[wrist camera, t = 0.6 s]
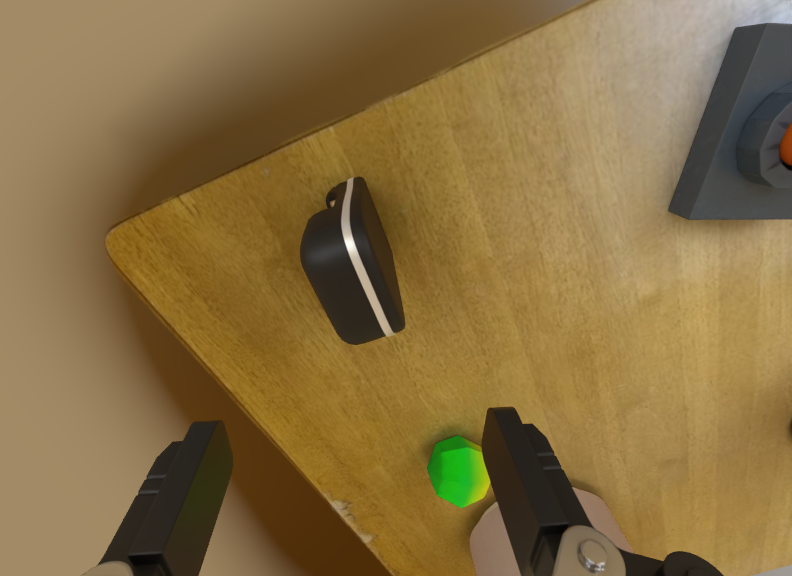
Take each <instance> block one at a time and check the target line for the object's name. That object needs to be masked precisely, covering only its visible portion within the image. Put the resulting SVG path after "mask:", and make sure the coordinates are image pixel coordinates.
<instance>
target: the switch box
mask: <svg viewBox="0 0 792 576" xmlns="http://www.w3.org/2000/svg"><path fill="white" fill-rule="evenodd" d="M791 123H792V24H779V23H764V24H757V25H750V26H744V27H737V28H736V29H735V32H734V34H733V37H732V40H731V42H730V45H729V48H728V50H727V53H726V56H725V59H724V61H723V64H722V67H721V69H720V72H719V75H718V77H717V80H716V83H715V85H714V88H713V91H712V94H711V96H710V99H709V102H708V104H707V107H706V110H705V112H704V115H703V118H702V120H701V123H700V126H699V129H698V131H697V134H696V137H695V139H694V142H693V145H692V147H691V150H690V153H689V156H688V158H687V161H686V164H685V166H684V169H683V172H682V174H681V177H680V180H679V182H678V185H677V188H676V191H675V193H674V196H673V199H672V201H671V204H670V207H669V209H668V211H669V212H671V213H674V214H676V215H679V216H681V217H683V218H686V219H688V220H753V219H792V165H788V164H786V163H785V162H783V161H782V159H781V158H780V155H779V145H780V143H781V141H782V138H783V136H784V134H785V132H786V130H787V128H788V126H789V125H790V124H791Z"/></svg>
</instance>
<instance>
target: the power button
mask: <svg viewBox="0 0 792 576" xmlns="http://www.w3.org/2000/svg"><path fill="white" fill-rule="evenodd" d="M779 155H780V158H781V159H782V161H783V162H785V163H786V164H788V165H792V123H791V124H790V125H789V126H788V128H787V130H786V132H785V134H784V136H783V138H782V141H781V143H780V145H779Z"/></svg>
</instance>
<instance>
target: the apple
mask: <svg viewBox="0 0 792 576" xmlns="http://www.w3.org/2000/svg"><path fill="white" fill-rule="evenodd" d="M427 470H428V473H429V476H430V479H431V482H432V485H433V487H434V490H435V492H436V494H437V496H439V497H441V498H443V499H445V500H447V501H449V502H450V503H452V504H454V505H456V506H458V507H460V508H463V507H465V506H467V505H470V504H472V503H474V502H476V501H478V500H480V499H483V498H484V497H485V495H486V492H487V490H488V487H489V485H490V483H491V482H490V479H489V476H488V472H487V469H486V466H485V463H484V460H483V455H482V448H481V447H480V446H478V445H476V444H474V443H473V442H471V441H469V440H467V439H465V438H463V437H461V436H459V435H456V436H454V437H451V438H449V439H446V440H444V441H441V442H438V443H436V445H435V448H434V450H433V453H432V456H431V458H430V461H429V464H428V467H427Z"/></svg>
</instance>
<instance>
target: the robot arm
mask: <svg viewBox="0 0 792 576" xmlns="http://www.w3.org/2000/svg"><path fill="white" fill-rule="evenodd" d="M482 455H483V460H484V463H485V466H486V469H487V472H488V476H489V479H490V482H491V485H492V488H493V491H494V494H495V497H496V500H497V503H498V506H499V509H500V512H501V516H502V519H503V522H504V525H505V528H506V531H507V534H508V537H509V540H510V543H511V546H512V549H513V552H514V556H515V559H516V562H517V565H518V568H519V571H520V574H521V576H723V575H722V573H721V572H719V571H718V570H717V569H716V568H715V567H714V566H713V565H711V564H710V563H709V562H707V561H705V560H704V559H702V558H700V557H698V556H696V555H694V554H691V553H688V552H682V551H677V552H673V553H670V554H669V555H668V556H667V557H666V558H665V560H664V561H660V560H656V559H653V558H649V557H645V556H642V555H638V554H634V553H630V552H627V551H624V550H622V549H620V548H618V547H616V546H615V545H614V543H613V542H612V541H611V540H610V539H609V538H608V537H607V536H605V535H604V534H603V533H601V532H599V531H598V530H596V529H595V528H594V526H593V525H592V524H591V522H590V520H589V519H588V517H587V515H586V513H585V511H584V509H583V507H582V505H581V503H580V501H579V499H578V497H577V496H576V494H575V492H574V490H573V488H572V486H571V484H570V482H569V480H568V478H567V476H566V474H565V473H564V471H563V470H562V469H561V465H560V463H559V461H558V459H557V457H556V456H555V455H554V451H553V450H552V448H551V446H550V444H549V442H548V440H547V438H546V437H545V436H544V435H543V434H542V433H541V432H540V431H539V430H538V429H537V428H536V427H535V426H534V425H533V424H522V422H521V420H520V417H519V415H518V413H517V411H516V410H515V408H514V407H496V408H489V409H488V410H487V415H486V421H485V426H484V431H483V437H482ZM232 468H233V454H232V451H231V447H230V443H229V439H228V436H227V432H226V429H225V425H224V422H223V421H222V420H214V421H195V422H194V423H192V424H191V426H190V428H189V430H188V432H187V434H186V436H185V438H184V440H183V441H178V442H172V443H171V444H170V445H169V446H168V447H167V448H166V449H165V450H164V451H163V452H162V453H161V454H160V455H159V456H158V457H157V459H156V460H155V462H154V464H153V466H152V467H151V469H150V471H149V473H148V475H147V479H146V480H145V481H144V482H143V484H142V486H141V488H140V490H139V493H138V496H136V497H135V499H134V501H133V503H132V504H131V506H130V508H129V510H128V512H127V514H126V516H125V518H124V519H123V521H122V523H121V525H120V527H119V529H118V531H117V532H116V534H115V536H114V538H113V540H112V542H111V544H110V545H109V547H108V549H107V551H106V553H105V554H104V556H103V558H102V559H101V561H100V562H99V564H98V565H97V566H96V567H93V568H92V569H90V570H88V571H87V572H85V573H84V574H83V575H81V576H198V575H199V572H200V569H201V566H202V563H203V560H204V557H205V554H206V551H207V548H208V545H209V542H210V538H211V535H212V532H213V529H214V526H215V523H216V520H217V517H218V514H219V511H220V507H221V505H222V502H223V498H224V496H225V493H226V489H227V486H228V483H229V480H230V477H231V473H232Z"/></svg>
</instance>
